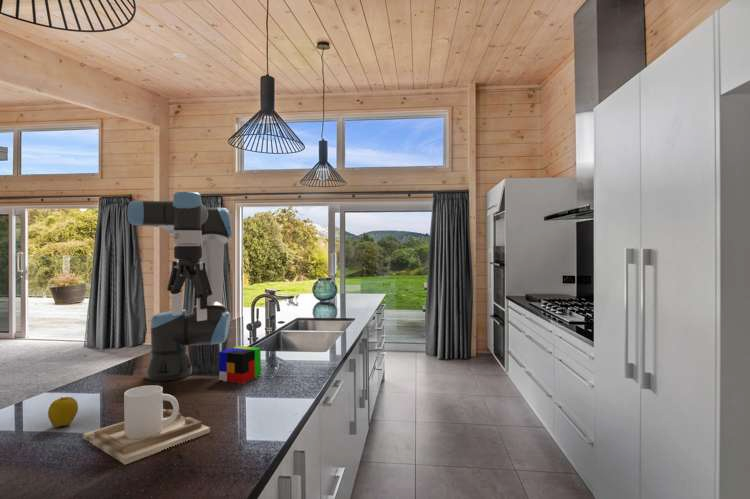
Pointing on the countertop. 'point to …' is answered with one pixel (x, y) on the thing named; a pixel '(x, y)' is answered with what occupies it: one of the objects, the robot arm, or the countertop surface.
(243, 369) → the puzzle toy
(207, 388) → the countertop surface
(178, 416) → the board
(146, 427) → the mug
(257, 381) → the countertop surface
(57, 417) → the apple
